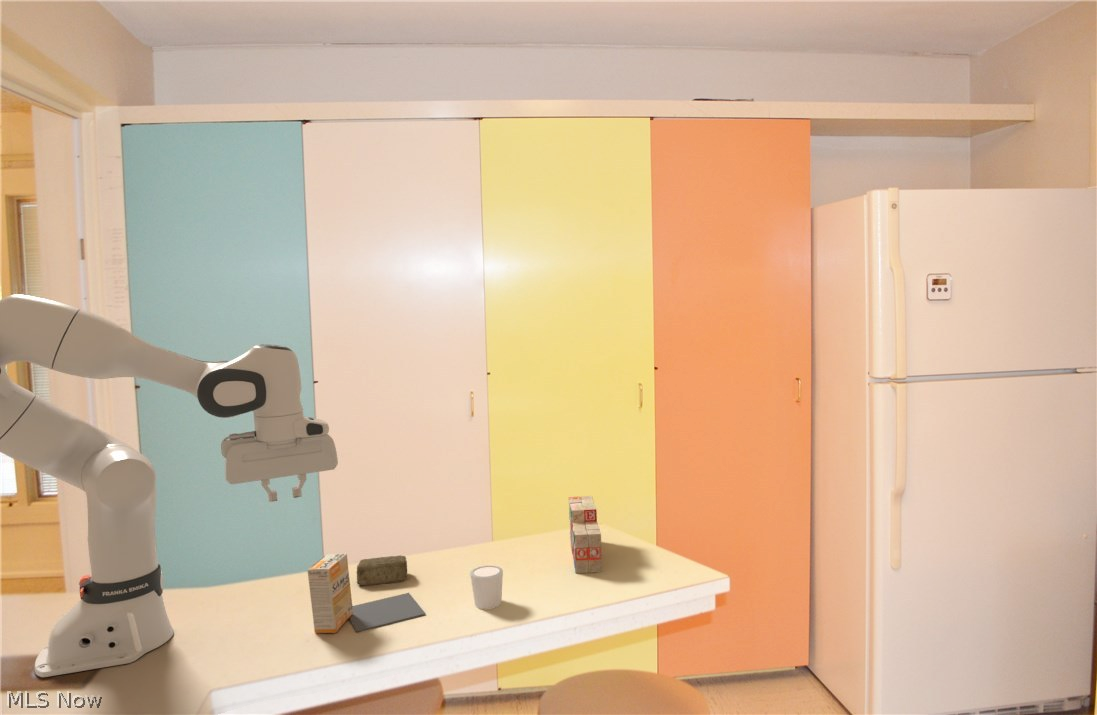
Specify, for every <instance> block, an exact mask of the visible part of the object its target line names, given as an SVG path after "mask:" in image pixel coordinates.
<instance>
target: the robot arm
mask: <svg viewBox="0 0 1097 715" xmlns="http://www.w3.org/2000/svg"><path fill="white" fill-rule="evenodd" d="M13 362H25V363H29V364H34V365H37V366H40V367H43V368H46V369H48V370H53V371H55V372H58V373H63V374H66V375H70V376H76V377H81V378H88V379H93V380H107V379H114V378H115V379H116V378H138V379H143V380H146V381H147V380H148V381H152V382H154V383H157V384H158V383H159V384H162V385H163V386H165V385H166V386H168V387H171V388H175V389H178V390H181V391H185V392H187V393H189V394H191V395H193V396H194V397H195V398H197V401H198V403H199V405H200V406H201V408H202V409H203V410H204V411H205V412H206V413H208V414H210V415H211V416H214V417H217V418H222V419H223V418H224V419H228V418H234V417H237V416H239V415H243V414H247V413H250V412H253V422H254V430H253V431H247V432H245V431H244V432H241V433H230V434H229V435H228V436H226V437H225V438H223V439H222V441H221V444H220V449H221V450H220V452H221V455H222V456H223V458H225V464H224V465H225V467H224V468H225V470H224V474H225V481H226V482H227V483H228V484H230V485H238V484H244V483H250V482H251V483H252V482H257V481H260V484H261V486H262V488H263V489H264V491H266V493H267V499H268V502H269V503H272V502H278V492H277V490H276V489H275V490H272V489H271V488H270V487H269V485H270V484H271V483H270V481H271V480H273V479H279V478H286V477H292V476H296V477H297V479H298V483H297V485H296V486H294V487H292V488H291V489H292V490H291V491H292V497H293V499H297V498H302V496H303V494H302V489H303V487H304V485H305V483H306V481H307V474H312V473H320V472H326V471H333V470H335V469H336V468H337V466H338V464H339V462H338V460H339V458H338V453H337V448H336V444H335V442H334V439H333V437H331V435H330V434H329V431H330V426H329V424H328V423H327V422H326V421H324V420H323V419H320V418H314V417H308V416H304V409H303V406H302V402H301V393H302V392H301V391H302V380H301V371H300V365H299V361H298V356H297V355H296V353H295V352H294V351H293V350H292V349H291V348H289V347H287V346H282V345H276V344H268V343H267V344H264V343H261V344H256V345H252V347H251V348H250V349H249V350H247V351H246V352H244V353H242V354H240V355H239V356H238V357H235V358H234V359H231V360H213V361H209V360H207V361H204V360H199V359H195V358H192V357H189V356H186V355H183V354H179V353H176V352H173V351H170V350H168V349H165V348H162V347H158V346H156V345H153V344H151V343H149V342H147V341H145V340H144V339H142V338H140V337H138V336H136V335H135V334H134V333H132V332H130V331H129V330H127V329H126V328H123V327H122V326H120V325H119V324H116V323H115V322H113V321H111V320H109V319H107V318H105V317H102V316H100V315H98V314H95V313H94V312H91V311H88V310H85V309H81V308H79V307H75V306H73V305H69V304H68V303H67V304H66V303H63V302H59V301H55V300H51V299H47V298H43V297H42V298H41V297H37V296H32V295H26V294H17V293H16V294H11V295H7V296H5V297H3V298H2V299H0V453H2V454H3V455H5V456H7V457H9V458H11V459H13V460H15V461H18V462H19V463H21V464H23V465H25V466H27V467H29V468H31V469H32V470H35V471H38V472H41V473H44V474H46V475H48V476H51V477H53V478H56V479H58V480H61V481H62V482H65V483H67V484H69V485H71V486H73V487H76V488H78V489H79V490H82V491H83V492H85V495H86V502H87V506H86V507H87V545H88V546H87V547H88V557H89V565H90V566H89V568H90V574H84V575H82V577H81V578H80V580H79V582H78V585H79V596H80V597H79V598H80V600H79V601H78V602H77V603H76V604H75V605H73V606H72V607H71V608H70V609H69V610H68V611H67V612H66V613H65V614H63V615H62V616H61V617H60V618H59V619H58V620H57V621H56V622H55V624H54V625H53V627H52V628H51V631H50V635H49V636H48V637H49V638H48V644H47V645H46V646H45V647H44V648H43V649H42V650H41V651H40V652H39V653H38V655H37V657H36V658H35V662H34V673H35V675H36V676H38V677H40V678H48V677H53V676H60V675H67V674H72V673H78V672H83V671H89V670H96V669H102V668H108V667H114V666H119V665H120V666H121V665H125V664H130V663H133V662H135V661H137V660H138V659H140V658H141V657H143V655H145V654H146V653H148V652H151V651H153V650H155V649H157V648H159V647H160V646H163V644H165V643H167V642H168V641H169V640H170V639H171V638H172V636H174V632H175V631H174V628H173V626H172V624H171V621H170V619H169V616H168V614H167V613H168V612H167V610H166V607H165V603H164V598H163V591H164V582H163V580H164V579H163V572H162V569H161V564H159V563H158V562H159V561H158V553H157V542H156V541H157V540H156V532H155V531H156V530H155V521H156V520H155V519H156V518H155V517H156V481H157V480H156V471H155V468H154V466H153V464H152V462H151V461H150V460H149V458H147V456H145V455H144V454H143V453H141V452H140V451H138V450H136V449H135V448H134V447H133V446H131V445H129V444H127V443H125V442H124V441H122V440H120V439H118V438H116V437H114V436H113V435H111V434H109V433H107V432H106V431H103V430H102V429H99V428H98V427H96V426H95V425H92V424H90V423H88V422H87V421H84V420H83V419H81V418H79V417H77V416H76V415H74V414H72V413H71V412H69V411H67V410H65V409H63V408H61V407H60V406H58V405H56V404H54V403H52V402H51V401H49V400H47V399H45V398H43V397H41V396H40V395H39V394H36V393H34V392H32V391H30V390H29V389H26V388H25V387H23V386H21V385H19V384H18V383H16V382H14V381H13V380H12V378H10V377H9V375H8V373H7V369H6V367H7V365H8V364H11V363H13ZM270 479H271V480H270Z"/></svg>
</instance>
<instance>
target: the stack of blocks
mask: <svg viewBox="0 0 1097 715" xmlns="http://www.w3.org/2000/svg"><path fill="white" fill-rule="evenodd" d="M597 511H598V510H597V508H596V505H595V500H594V499H593V496H592V495H581V496H569V497H568V515H569V517H568V519H569V538H570V549H571V554H572V557H573V567H574V570H575V571H574V572H575V574H588V573H601V572H602V532H601V531H600V526H599V523H598V516H597V514H598V512H597Z"/></svg>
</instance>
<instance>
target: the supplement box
mask: <svg viewBox="0 0 1097 715" xmlns="http://www.w3.org/2000/svg"><path fill="white" fill-rule="evenodd" d="M348 560H349V559H348V554H347V553H326V554H325V555H324V556H323V557H322V558H321V559H319V560H318V561H317V562H315V563H314V564H313V565H312V566H310V567H309V568H307V577H308V585H309V586H308V587H309V594H310V603H311V610H312V620H313V628H314V633H315V634H316V633H318V634H335V633H337V632H338V631H339V629H340V628H342V626H343V625H344V623H346V622H347V621H348V619H349V617H350V616H351V615H352V614H353V607H352V606H353V599H352V591H351V582H350V572H349V563H348Z"/></svg>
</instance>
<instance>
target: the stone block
mask: <svg viewBox="0 0 1097 715" xmlns="http://www.w3.org/2000/svg"><path fill="white" fill-rule="evenodd" d="M407 576H408V562H407V557H406V556H405V555H402V554H401V555H390V556H380V557H374V558H373V557H371V558H364V559H360V561H359V562H358V564H357V565H356V584H357V585H360V586H373V585H383V584H389V583H391V584H392V583H398V582H403V581H405V580H407Z"/></svg>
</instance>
